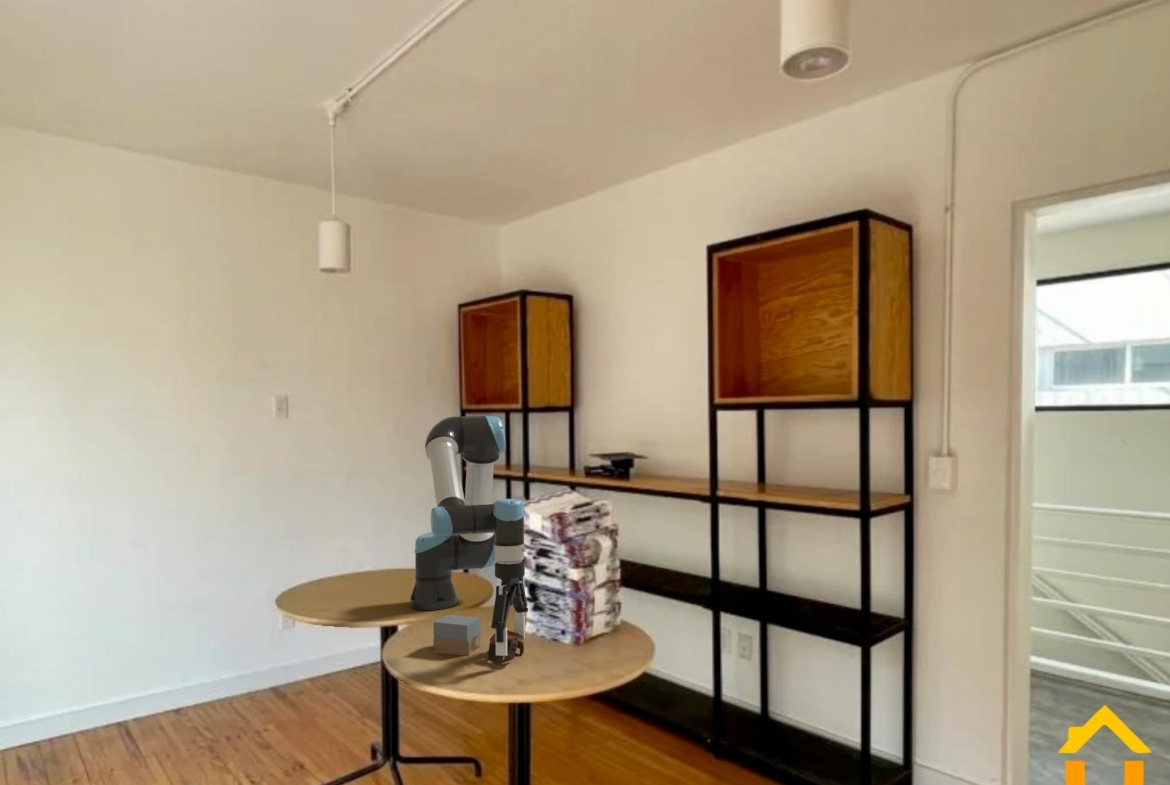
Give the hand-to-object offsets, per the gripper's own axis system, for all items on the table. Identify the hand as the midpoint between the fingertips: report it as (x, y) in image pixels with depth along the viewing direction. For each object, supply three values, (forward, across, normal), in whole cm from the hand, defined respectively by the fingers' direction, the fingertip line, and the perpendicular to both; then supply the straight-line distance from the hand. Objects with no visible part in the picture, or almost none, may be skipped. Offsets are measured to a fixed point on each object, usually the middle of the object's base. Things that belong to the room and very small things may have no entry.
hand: (510, 646), depth 173 cm
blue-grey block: (-1, +4, +16) cm, 17 cm away
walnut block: (+3, +4, +16) cm, 17 cm away
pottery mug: (+3, 0, +1) cm, 4 cm away
